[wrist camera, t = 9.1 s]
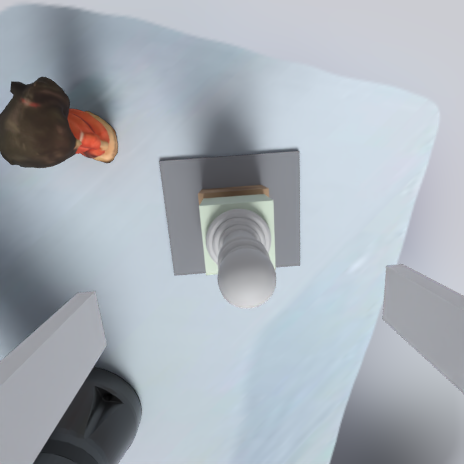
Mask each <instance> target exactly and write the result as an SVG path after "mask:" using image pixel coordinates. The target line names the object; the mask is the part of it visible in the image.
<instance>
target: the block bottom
mask: <svg viewBox="0 0 464 464" xmlns="http://www.w3.org/2000/svg"><path fill="white" fill-rule="evenodd" d="M256 194H265V195H266V196H268V197H269V188H267V187H265V186H263V185H252V186H239V187H226V188H212V189H202V190H201V191H200V192H199V193H198V199H199V205H200V204H201V202H202V200H203V198H216V197H229V196H243V195H256Z"/></svg>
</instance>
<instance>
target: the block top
mask: <svg viewBox="0 0 464 464" xmlns="http://www.w3.org/2000/svg"><path fill="white" fill-rule="evenodd" d="M232 209H246V210H250V211H252V212H255V213H256V214H258V215H259V216H260V217H262V218H263V219H264V221H265V222H266V223H267V225H268V227H269V229H270V232H271V247H270V250H269V253H268V254H269V257H270V260H271V262H272V264H273V266H274V269H275V270H276V265H275V234H274V203H273V200H272V199H271V198H269V197H268V196H266V195H265V194H256V195H243V196H229V197H216V198H203V200H202V202H201V204H200V205H199V210H200V220H201V230H202V239H203V249H204V259H205V268H206V275H216V274H218V265H217V264H216V263H215V262H214V261H213V260H212V258H211V257H210V255H209V253H208V251H207V247H206V234H207V231H208V228H209V226H210V225H211V223H212V222H213V220H214V219H215V218H216V217H217V216H219V215H220V214H222V213H224V212H226V211H228V210H232Z"/></svg>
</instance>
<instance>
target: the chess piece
mask: <svg viewBox="0 0 464 464" xmlns="http://www.w3.org/2000/svg"><path fill="white" fill-rule="evenodd" d="M206 247H207V251H208V253H209V255H210V257H211V258H212V260H213V261H214V262H215V263H216V264H217V265H218V285H219V289H220V291H221V293H222V295H223V297H224V298H225V299H226V300H227V301H228V302H229V303H230V304H232V305H234V306H236V307H239V308H246V309H248V308H255V307H258V306H260V305H262V304H264V303H265V302H267V301H268V300H269V299H270V297H271V296H272V294H273V292H274V290H275V286H276V273H275V269H274V266H273V264H272V262H271V260H270V257H269V254H268V253H269V250H270V247H271V232H270V229H269V227H268V225H267V223H266V222H265V221H264V219H263V218H262V217H260V216H259V215H258V214H256V213H255V212H252V211H250V210H246V209H232V210H228V211H226V212H224V213H222V214H220V215H219V216H217V217H216V218H215V219H214V220H213V222H212V223H211V225H210V226H209V228H208V231H207V234H206Z"/></svg>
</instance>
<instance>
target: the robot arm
mask: <svg viewBox="0 0 464 464" xmlns="http://www.w3.org/2000/svg"><path fill="white" fill-rule="evenodd" d="M382 319H383V320H384V321H385V322H386V323H387V324H388V325H389V326H390V327H391V328H392V329H394V330H395V331H396V332H397V333H398V334H399V335H400V336H401V337H402V338H403V339H404V340H406V341H407V342H408V343H409V344H410V345H411V346H412V347H413V348H414V349H415V350H416V351H417V352H419V353H420V354H421V355H422V356H423V357H424V358H425V359H426V360H427V361H428V362H430V363H431V364H432V365H433V366H434V367H435V368H436V369H437V370H438V371H439V372H440V373H441V374H442V375H444V376H445V377H446V378H447V379H448V380H449V381H450V382H451V383H452V384H454V386H456V387H457V388H458V389H459V390H460V391H461V392H462V393H463V394H464V296H463V295H461V294H459V293H457V292H455V291H453V290H451V289H449V288H447V287H446V286H444V285H442V284H440V283H438V282H436V281H434V280H432V279H430V278H428V277H426V276H424V275H422V274H421V273H419V272H417V271H415V270H413V269H411V268H409V267H407V266H405V265H403V264H399V265H388V266H386V277H385V290H384V303H383V317H382ZM106 346H107V343H106V338H105V333H104V329H103V324H102V320H101V315H100V310H99V306H98V301H97V296H96V292H95V291H92V292H80V293H77V294H76V295H75V296H73V297H72V298H71V299H70V300H69V301H68V302H67V303H66V304H64V305H63V306H62V307H61V308H60V309H59V310H58V311H57V312H55V313H54V314H53V315H52V316H51V317H50V318H49V319H48V320H46V321H45V322H44V323H43V324H42V325H41V326H40V327H39V328H37V329H36V330H35V331H34V332H33V333H32V334H31V335H30V336H28V337H27V338H26V339H25V340H24V341H23V342H22V343H21V344H19V345H18V346H17V347H16V348H15V349H14V350H13V351H11V352H10V353H9V354H8V355H7V356H6V357H5V358H4V359H2V360H1V361H0V464H118V463H119V462H120V460H121V459H122V457H123V456H124V454H125V453H126V451H127V450H128V448H129V447H130V446H131V444H132V442H133V440H134V438H135V436H136V433H137V430H138V427H139V424H140V420H141V405H140V401H139V399H138V396H137V395H136V393H135V391H134V390H133V389H132V388H131V386H130V385H129V384H128V383H126V382H125V381H124V380H123V379H121V378H120V377H118V376H116V375H115V374H113V373H110V372H108V371H105V370H102V369H98V368H93V367H94V365H95V364H96V362H97V360H98V359H99V357H100V356H101V354H102V352H103V351H104V349H105V348H106Z"/></svg>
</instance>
